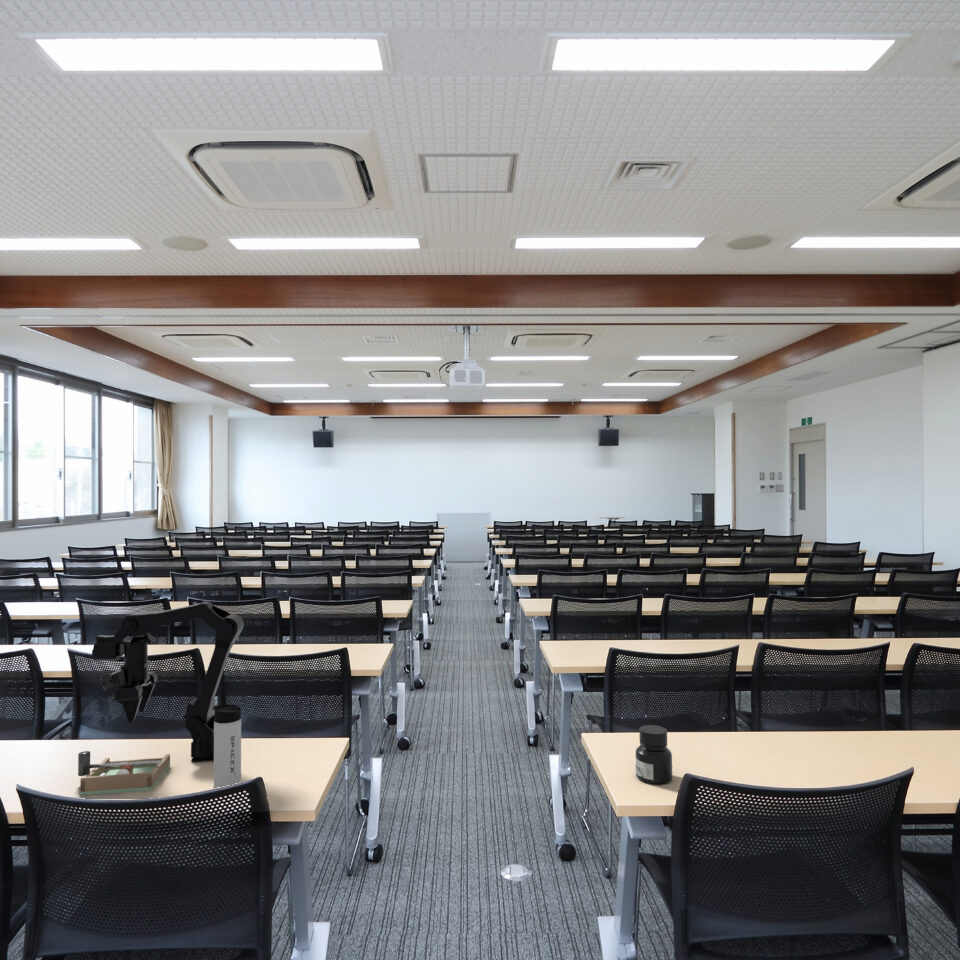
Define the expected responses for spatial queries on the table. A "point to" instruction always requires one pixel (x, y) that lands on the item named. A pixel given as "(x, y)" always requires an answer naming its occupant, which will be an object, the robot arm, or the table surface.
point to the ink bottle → (653, 756)
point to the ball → (122, 772)
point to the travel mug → (227, 745)
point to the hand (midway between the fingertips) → (136, 717)
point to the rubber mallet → (106, 764)
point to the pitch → (124, 777)
